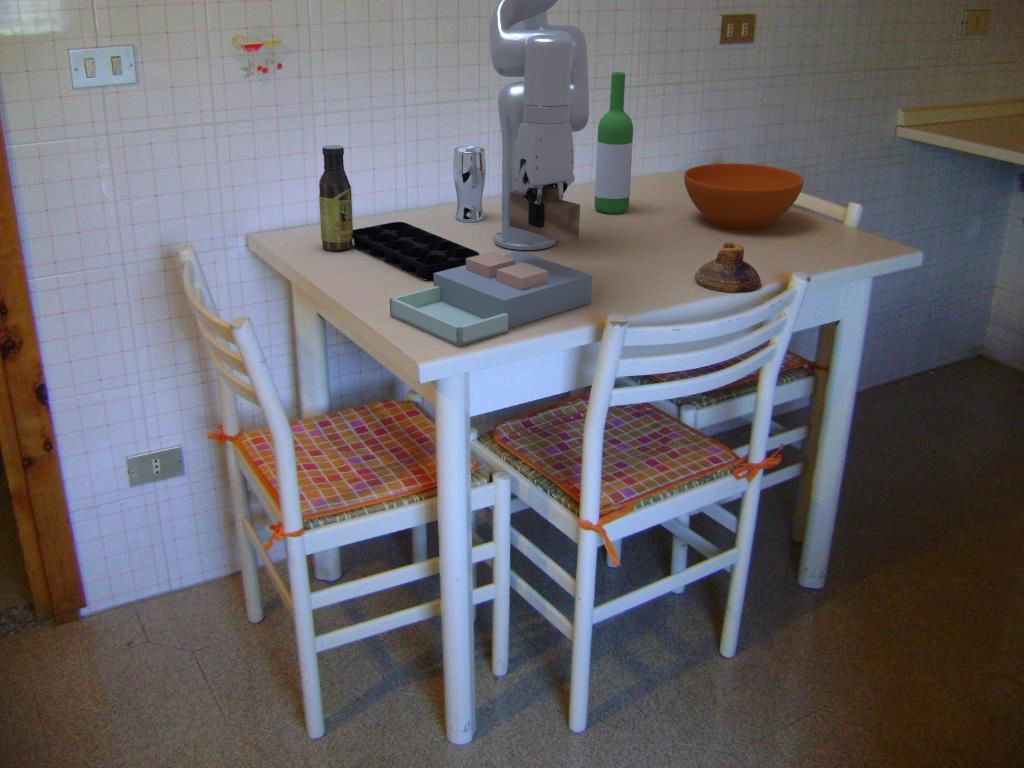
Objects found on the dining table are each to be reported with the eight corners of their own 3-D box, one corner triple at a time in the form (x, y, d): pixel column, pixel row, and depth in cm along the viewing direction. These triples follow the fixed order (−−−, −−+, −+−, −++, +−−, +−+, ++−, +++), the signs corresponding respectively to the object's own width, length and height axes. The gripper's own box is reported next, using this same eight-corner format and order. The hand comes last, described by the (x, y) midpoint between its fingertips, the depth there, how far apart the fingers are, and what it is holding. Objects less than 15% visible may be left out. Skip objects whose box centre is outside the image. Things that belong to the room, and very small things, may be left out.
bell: (741, 298, 186) (745, 258, 183) (682, 284, 193) (685, 245, 190) (772, 282, 195) (776, 244, 192) (714, 269, 202) (718, 232, 199)
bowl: (822, 226, 229) (828, 180, 225) (739, 244, 216) (744, 195, 212) (738, 201, 248) (742, 158, 244) (657, 216, 235) (660, 171, 231)
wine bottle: (619, 216, 234) (626, 76, 222) (587, 211, 238) (593, 73, 226) (634, 209, 240) (642, 72, 228) (604, 204, 244) (610, 69, 232)
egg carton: (438, 288, 190) (437, 267, 189) (327, 254, 208) (326, 235, 206) (502, 265, 203) (502, 246, 201) (392, 235, 220) (391, 218, 219)
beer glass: (491, 217, 233) (492, 148, 226) (473, 224, 227) (473, 154, 221) (465, 212, 236) (465, 144, 230) (447, 219, 231) (446, 150, 224)
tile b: (523, 273, 181) (523, 262, 180) (547, 282, 177) (547, 271, 176) (496, 281, 177) (496, 269, 176) (521, 290, 173) (521, 278, 172)
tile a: (492, 262, 186) (492, 251, 185) (515, 271, 182) (515, 259, 181) (465, 269, 183) (465, 258, 182) (488, 278, 179) (488, 266, 178)
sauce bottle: (347, 253, 207) (342, 151, 199) (317, 251, 208) (310, 149, 200) (358, 244, 213) (353, 144, 205) (328, 241, 214) (323, 142, 206)
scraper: (522, 223, 188) (523, 178, 185) (578, 239, 178) (580, 192, 175) (509, 225, 186) (510, 180, 183) (566, 242, 176) (567, 195, 173)
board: (519, 277, 195) (520, 251, 193) (590, 302, 183) (591, 275, 181) (434, 301, 183) (433, 273, 181) (503, 330, 170) (503, 300, 168)
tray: (437, 302, 182) (437, 285, 181) (507, 331, 170) (508, 314, 169) (390, 315, 176) (389, 298, 175) (459, 347, 164) (459, 328, 162)
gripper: (565, 107, 182) (562, 213, 189) (493, 116, 172) (493, 228, 179) (597, 112, 177) (593, 221, 184) (525, 122, 167) (523, 237, 174)
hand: (543, 223), depth 181 cm, fingers closed on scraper, 3 cm apart
